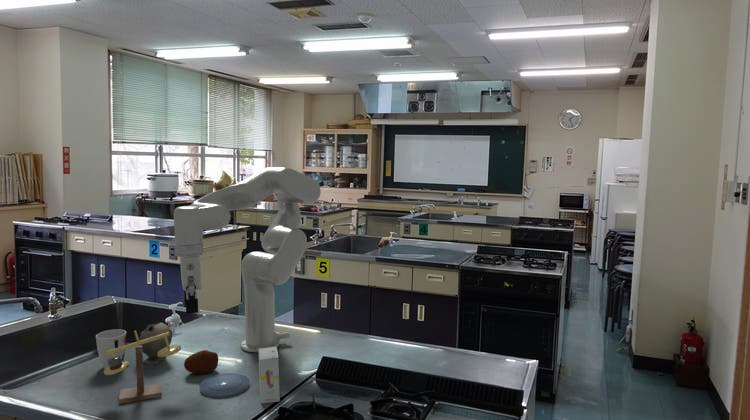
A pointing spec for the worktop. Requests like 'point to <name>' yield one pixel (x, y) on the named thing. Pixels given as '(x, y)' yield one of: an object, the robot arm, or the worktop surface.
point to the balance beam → (116, 362)
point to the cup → (110, 344)
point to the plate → (224, 385)
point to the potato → (201, 362)
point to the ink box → (269, 375)
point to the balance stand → (140, 384)
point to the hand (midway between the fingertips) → (191, 308)
